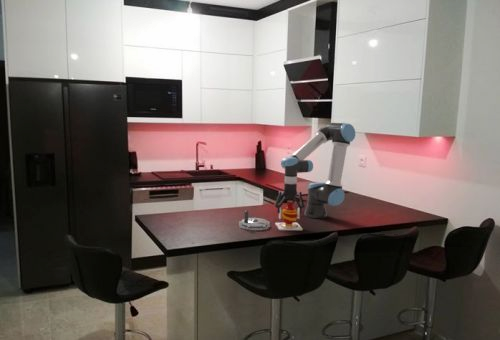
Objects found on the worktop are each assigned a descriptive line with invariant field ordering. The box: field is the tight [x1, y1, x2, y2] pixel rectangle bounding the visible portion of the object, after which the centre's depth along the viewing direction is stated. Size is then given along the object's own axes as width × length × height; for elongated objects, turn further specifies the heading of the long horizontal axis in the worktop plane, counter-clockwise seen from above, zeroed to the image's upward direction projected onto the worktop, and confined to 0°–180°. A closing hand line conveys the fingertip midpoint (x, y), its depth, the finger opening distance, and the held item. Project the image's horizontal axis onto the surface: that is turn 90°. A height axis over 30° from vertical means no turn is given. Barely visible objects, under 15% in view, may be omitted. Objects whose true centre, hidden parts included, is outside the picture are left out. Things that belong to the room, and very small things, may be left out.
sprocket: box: [238, 210, 270, 228], centre depth 251 cm, size 19×17×9 cm
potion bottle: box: [281, 200, 298, 226], centre depth 252 cm, size 10×10×15 cm
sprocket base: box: [238, 223, 271, 232], centre depth 252 cm, size 19×19×1 cm
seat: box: [275, 222, 303, 231], centre depth 253 cm, size 14×14×1 cm
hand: (289, 218), depth 252 cm, fingers open, 11 cm apart
